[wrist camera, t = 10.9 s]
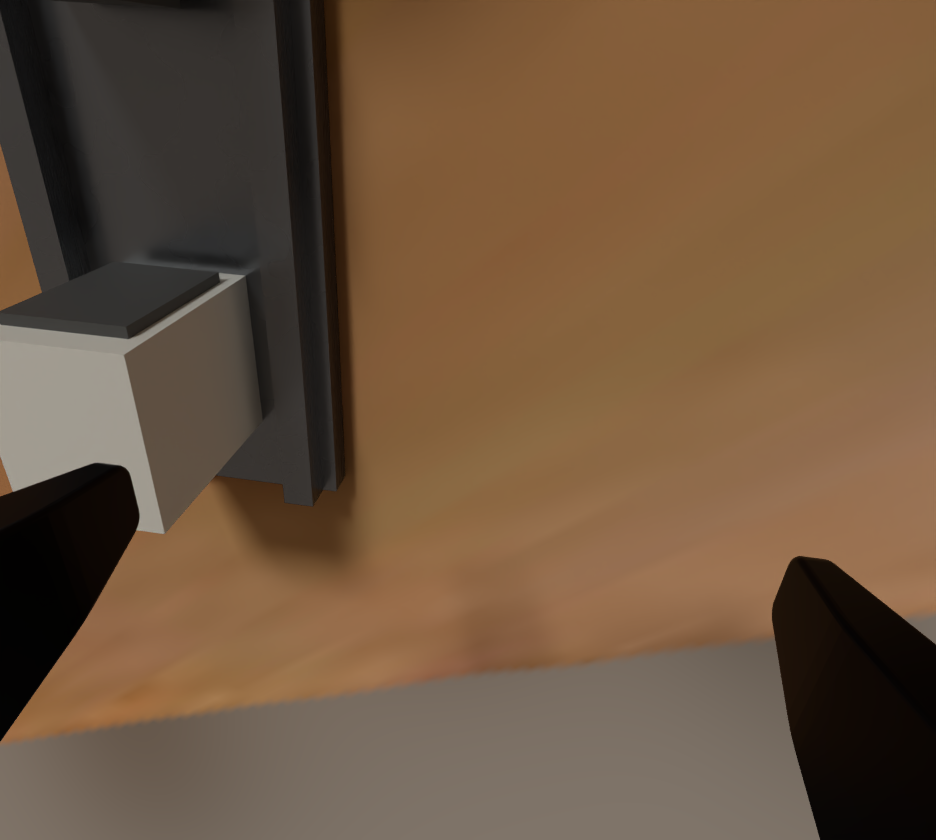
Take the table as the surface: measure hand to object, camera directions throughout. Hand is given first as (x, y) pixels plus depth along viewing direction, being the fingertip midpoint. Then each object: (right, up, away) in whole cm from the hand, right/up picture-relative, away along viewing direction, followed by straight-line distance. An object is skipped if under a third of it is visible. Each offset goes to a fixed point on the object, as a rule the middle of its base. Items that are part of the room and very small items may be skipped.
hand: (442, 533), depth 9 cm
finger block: (-8, +4, +12) cm, 15 cm away
